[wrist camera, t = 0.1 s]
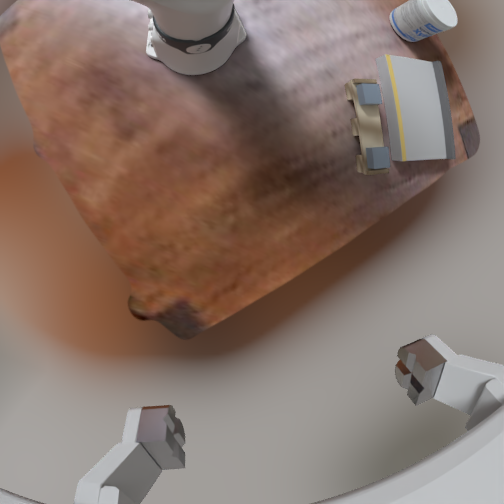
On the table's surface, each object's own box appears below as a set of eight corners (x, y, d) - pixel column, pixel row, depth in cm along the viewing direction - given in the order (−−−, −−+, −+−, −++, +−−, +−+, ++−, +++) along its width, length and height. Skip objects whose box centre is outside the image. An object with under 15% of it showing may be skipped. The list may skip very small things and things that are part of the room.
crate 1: (355, 85, 47) (361, 83, 45) (372, 86, 47) (378, 84, 45) (359, 105, 48) (365, 103, 46) (375, 105, 49) (382, 103, 46)
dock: (375, 59, 48) (390, 52, 43) (425, 65, 50) (440, 61, 44) (391, 160, 56) (407, 162, 50) (438, 157, 57) (455, 159, 52)
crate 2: (365, 147, 51) (372, 147, 49) (381, 146, 51) (388, 146, 49) (367, 168, 52) (374, 169, 50) (383, 166, 53) (390, 167, 50)
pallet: (344, 83, 50) (354, 78, 46) (365, 83, 50) (376, 79, 46) (357, 173, 56) (368, 175, 52) (377, 170, 57) (389, 172, 52)
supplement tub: (401, 45, 48) (441, 29, 34) (380, 12, 44) (416, -11, 31) (425, 39, 47) (464, 26, 33) (406, 7, 44) (442, -11, 30)
